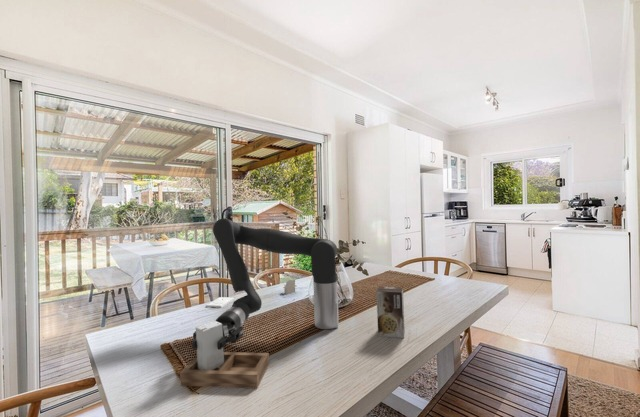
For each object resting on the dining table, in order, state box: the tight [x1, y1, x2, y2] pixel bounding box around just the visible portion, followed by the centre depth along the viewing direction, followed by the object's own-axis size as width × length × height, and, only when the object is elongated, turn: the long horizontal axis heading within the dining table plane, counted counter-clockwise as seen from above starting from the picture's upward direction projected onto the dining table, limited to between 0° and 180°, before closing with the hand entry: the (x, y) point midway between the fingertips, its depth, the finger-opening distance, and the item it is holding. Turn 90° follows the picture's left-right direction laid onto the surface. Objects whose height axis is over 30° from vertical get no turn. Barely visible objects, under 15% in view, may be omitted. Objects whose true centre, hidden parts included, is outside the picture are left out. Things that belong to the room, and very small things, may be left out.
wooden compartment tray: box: [179, 351, 270, 389], centre depth 85 cm, size 21×12×4 cm, turn 84°
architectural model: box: [282, 279, 297, 295], centre depth 164 cm, size 3×7×7 cm, turn 130°
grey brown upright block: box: [375, 285, 406, 339], centre depth 108 cm, size 9×6×16 cm
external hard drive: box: [205, 296, 235, 309], centre depth 149 cm, size 2×8×12 cm
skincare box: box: [195, 320, 225, 370], centre depth 85 cm, size 6×4×12 cm
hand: (206, 345), depth 83 cm, fingers closed on skincare box, 6 cm apart
